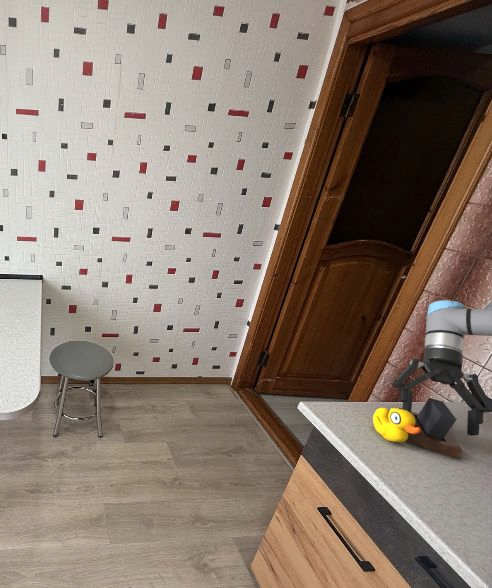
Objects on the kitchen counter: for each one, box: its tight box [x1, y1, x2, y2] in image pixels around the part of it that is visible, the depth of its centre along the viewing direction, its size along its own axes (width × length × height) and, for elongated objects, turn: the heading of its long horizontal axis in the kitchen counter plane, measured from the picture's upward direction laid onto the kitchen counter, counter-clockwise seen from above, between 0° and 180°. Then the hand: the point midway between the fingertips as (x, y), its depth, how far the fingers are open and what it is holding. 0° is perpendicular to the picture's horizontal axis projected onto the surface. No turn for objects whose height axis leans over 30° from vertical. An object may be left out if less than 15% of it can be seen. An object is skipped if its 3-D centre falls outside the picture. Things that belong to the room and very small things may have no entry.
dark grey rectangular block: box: [416, 397, 457, 441], centre depth 91 cm, size 3×8×10 cm, turn 152°
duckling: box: [372, 407, 421, 443], centre depth 89 cm, size 11×5×10 cm, turn 175°
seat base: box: [398, 407, 464, 460], centre depth 93 cm, size 10×12×3 cm
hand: (438, 424), depth 89 cm, fingers open, 13 cm apart
